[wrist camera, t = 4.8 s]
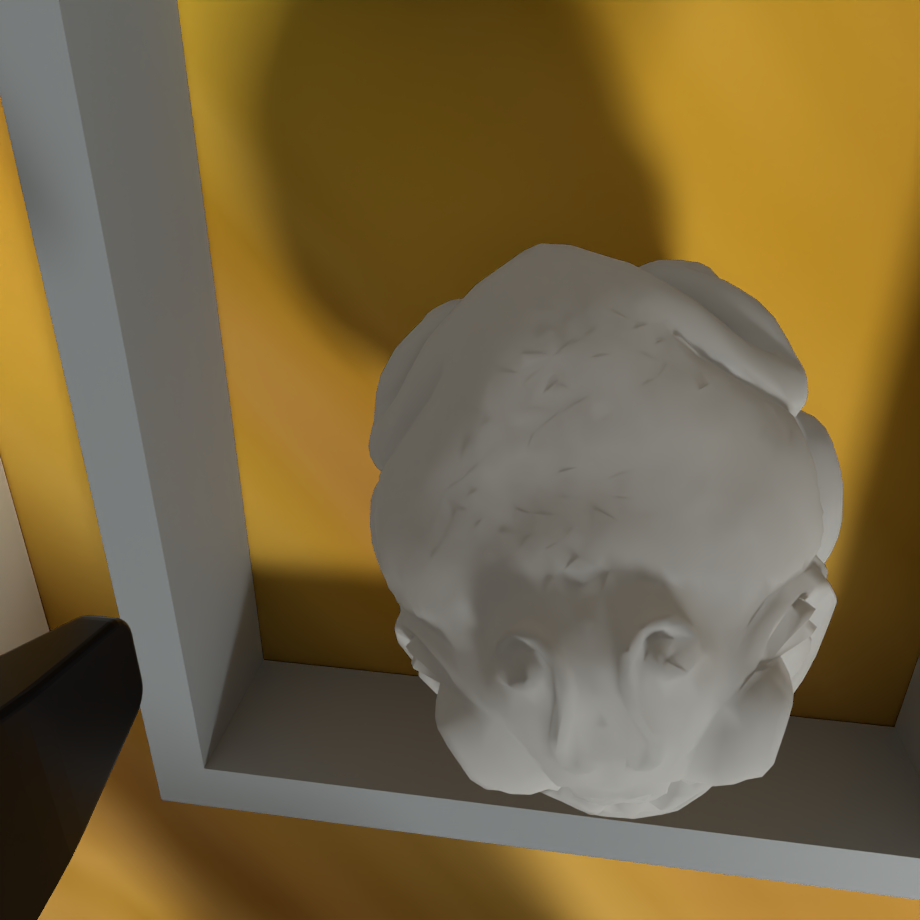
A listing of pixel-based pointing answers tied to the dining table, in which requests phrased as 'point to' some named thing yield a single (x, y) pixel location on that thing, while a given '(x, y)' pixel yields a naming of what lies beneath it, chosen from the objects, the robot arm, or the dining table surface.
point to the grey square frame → (225, 536)
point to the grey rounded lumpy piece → (605, 528)
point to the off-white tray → (16, 580)
